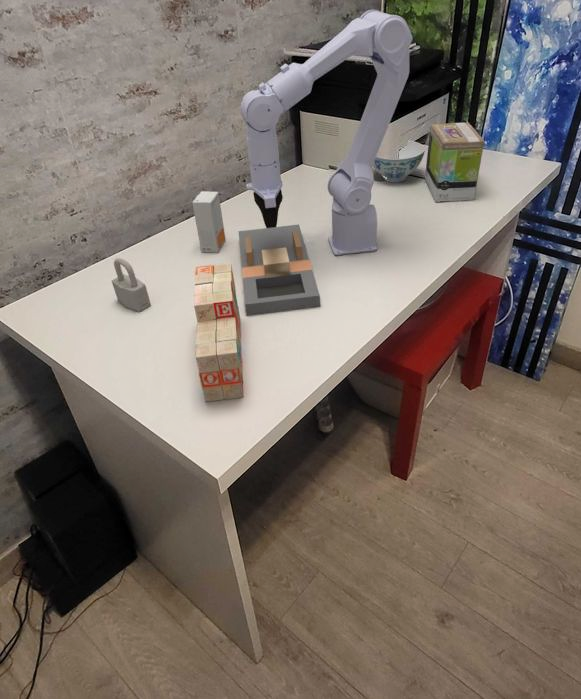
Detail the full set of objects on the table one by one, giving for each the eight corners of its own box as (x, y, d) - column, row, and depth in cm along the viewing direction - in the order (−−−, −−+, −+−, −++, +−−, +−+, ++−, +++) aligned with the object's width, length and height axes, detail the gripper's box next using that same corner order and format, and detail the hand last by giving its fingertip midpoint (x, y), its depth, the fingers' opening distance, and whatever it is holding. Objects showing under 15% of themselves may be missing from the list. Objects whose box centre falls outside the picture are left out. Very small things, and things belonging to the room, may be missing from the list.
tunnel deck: (299, 234, 123) (298, 212, 119) (320, 306, 100) (319, 281, 96) (239, 241, 122) (236, 219, 119) (246, 315, 99) (243, 290, 96)
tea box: (475, 201, 130) (485, 139, 121) (434, 203, 131) (441, 142, 122) (461, 177, 142) (469, 120, 133) (423, 179, 143) (429, 122, 133)
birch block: (287, 260, 109) (286, 247, 107) (290, 275, 104) (289, 261, 102) (263, 263, 109) (261, 250, 107) (265, 278, 104) (263, 264, 102)
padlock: (115, 302, 106) (100, 258, 99) (131, 293, 108) (118, 249, 102) (137, 314, 102) (123, 269, 96) (153, 304, 104) (141, 259, 98)
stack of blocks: (245, 398, 82) (234, 336, 74) (205, 403, 82) (190, 341, 74) (240, 318, 99) (231, 261, 91) (207, 322, 98) (195, 265, 91)
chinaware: (410, 191, 137) (412, 162, 132) (357, 183, 144) (358, 154, 139) (430, 171, 147) (433, 143, 142) (380, 164, 153) (381, 136, 148)
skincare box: (218, 253, 118) (210, 202, 111) (201, 252, 119) (191, 202, 112) (226, 240, 123) (218, 191, 115) (209, 239, 124) (200, 190, 116)
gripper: (241, 150, 106) (249, 213, 114) (245, 177, 94) (254, 245, 103) (276, 146, 106) (282, 209, 115) (284, 172, 95) (289, 240, 103)
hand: (271, 226), depth 109 cm, fingers closed
